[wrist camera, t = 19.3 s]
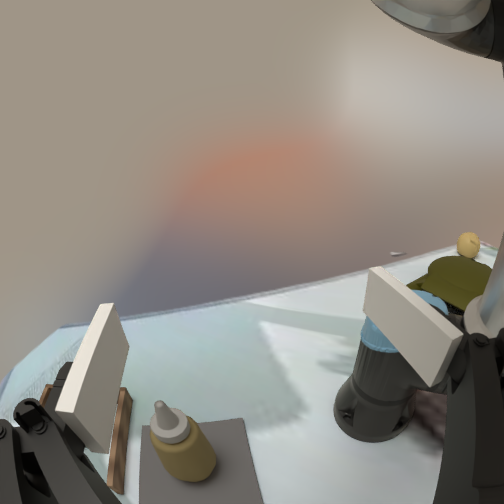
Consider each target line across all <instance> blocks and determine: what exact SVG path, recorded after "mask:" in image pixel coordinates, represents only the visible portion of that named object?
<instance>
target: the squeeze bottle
mask: <svg viewBox="0 0 504 504" xmlns="http://www.w3.org/2000/svg"><path fill="white" fill-rule="evenodd" d="M154 406H155V412H156V413H155V414H154V415H153V416H152V418H151V421H150V427H151V430H150V434H149V435H150V439H151V443H152V445H153V447H154V449H155V451H156V453H157V455H158V457H159V459H160V461H161V463H162V464H163V466H164V468H165V469H166V471H167V472H168V473H169V474H170V475H171V476H173V477H175V478H177V479H179V480H183V481H189V482H198V481H202V480H204V479H206V478H207V477H209V475H210V474H211V472H212V470H213V468H214V467H215V465H216V454H215V452H214V449H213V447H212V446H211V444H210V443H209V441H208V440H207V438H206V437H205V435H204V434H203V432H202V430H201V429H200V427H199V426H198V424H197V423H196V422H195V421H194V420H193V419H192V418H191V417H189V416H186V415H185V414H184V413H183V412H182V411H181V410H178V409H176V408H169V407H168V406H167V405H166V404H165V403H164V402H163V401H157V402H155V404H154Z"/></svg>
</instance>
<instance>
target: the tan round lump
mask: <svg viewBox="0 0 504 504" xmlns="http://www.w3.org/2000/svg"><path fill="white" fill-rule="evenodd" d="M479 249H480V241H479V238H478V237H477V235H476V234H473V233H472V232H469V233H463V234H462V235H461V236H460V237H459V239H458V241H457V250H458V253H459V254H461V255H463V256H465V257H468V258H473V257H475V256H476V255H477V254H478V252H479Z"/></svg>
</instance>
